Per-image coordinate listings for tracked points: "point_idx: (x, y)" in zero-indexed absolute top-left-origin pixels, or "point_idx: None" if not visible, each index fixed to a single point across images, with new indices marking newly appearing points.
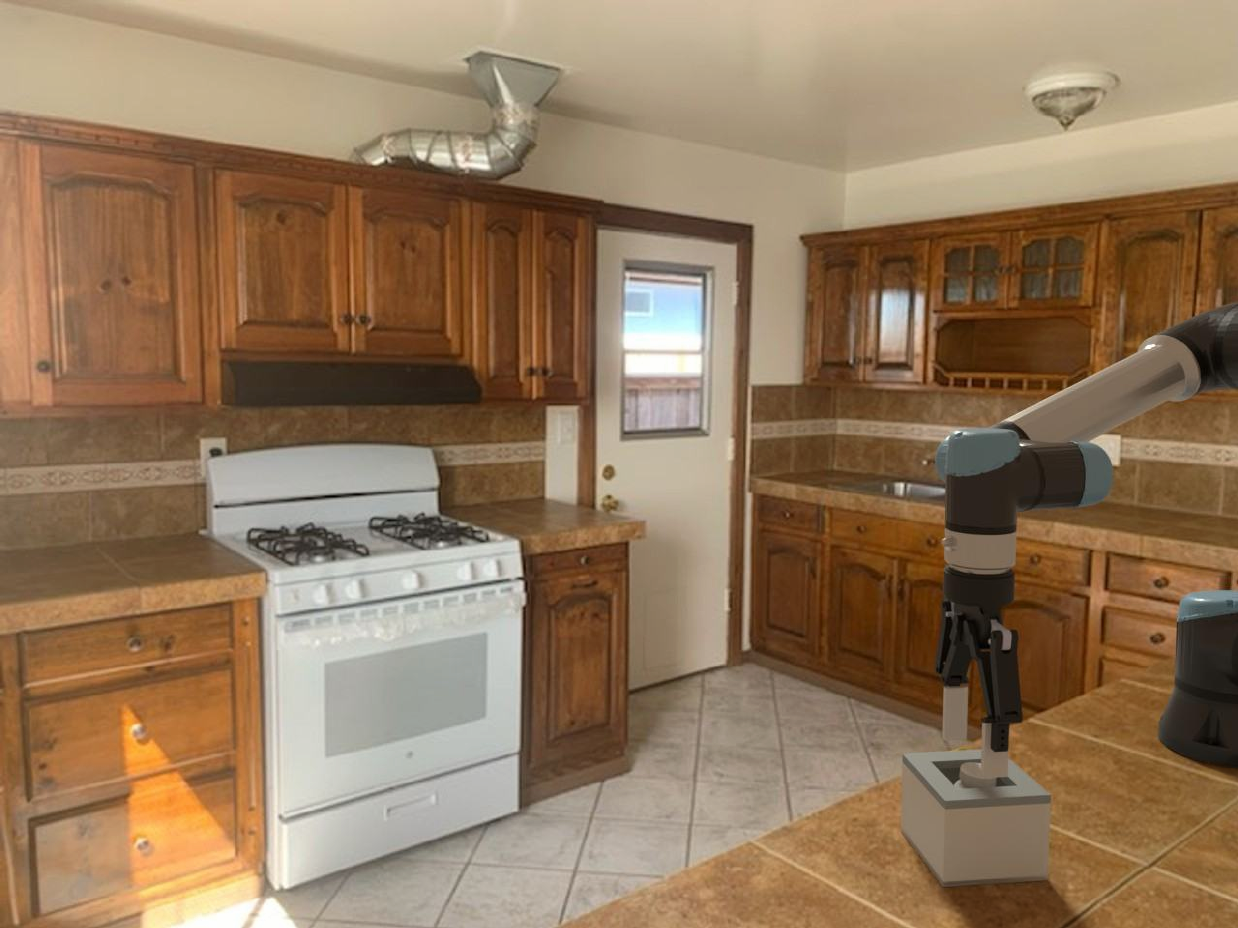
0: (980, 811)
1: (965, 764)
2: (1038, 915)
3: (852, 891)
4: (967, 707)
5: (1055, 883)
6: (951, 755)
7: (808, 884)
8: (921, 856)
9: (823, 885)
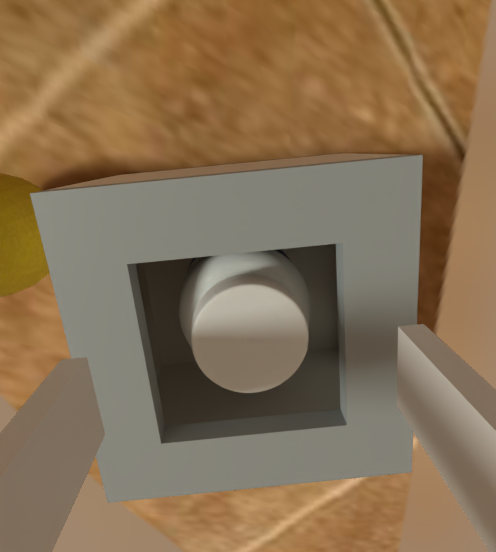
0: None
1: (212, 370)
2: (445, 222)
3: (343, 479)
4: (16, 460)
5: (352, 141)
6: (109, 373)
7: (319, 529)
8: None
9: (323, 512)
